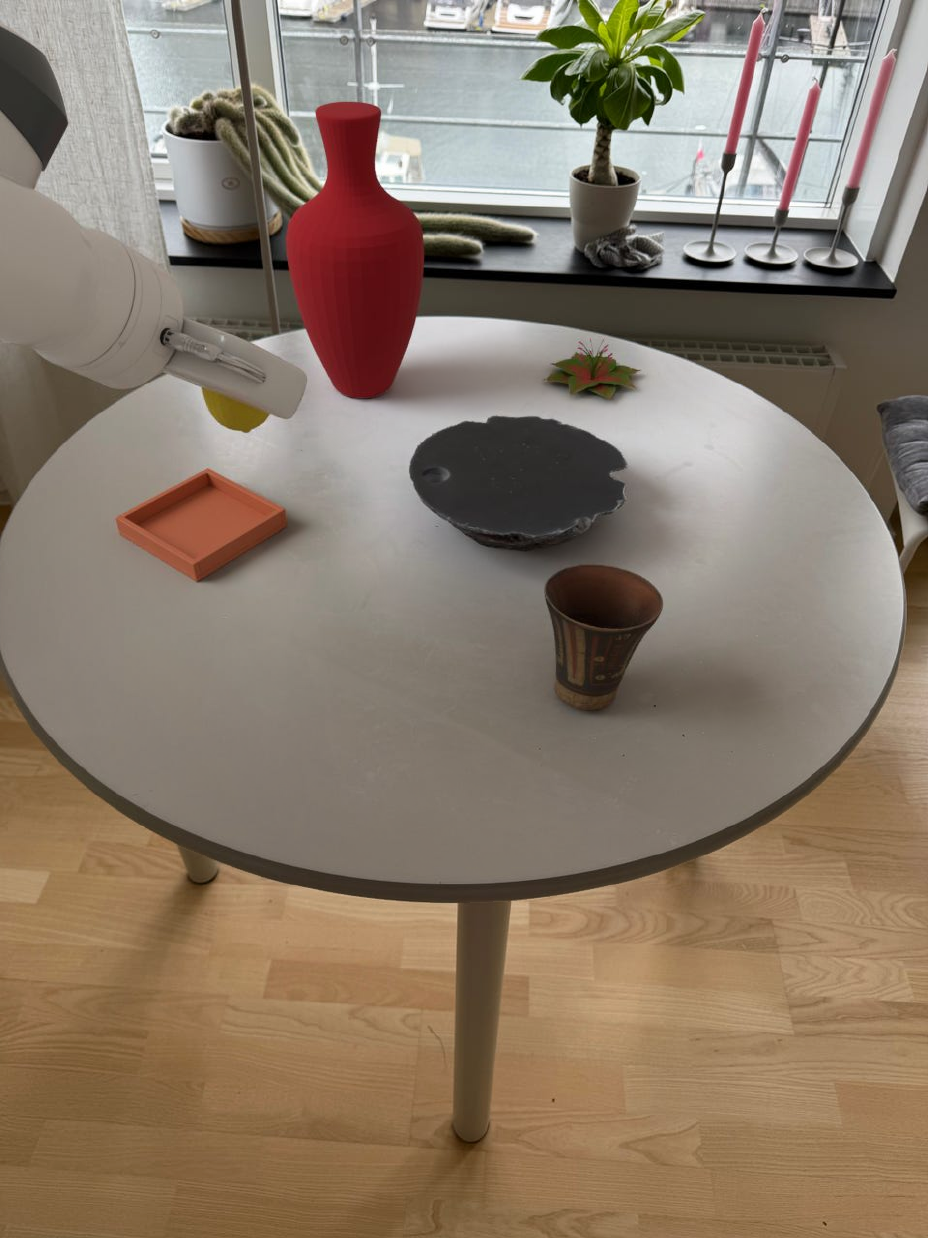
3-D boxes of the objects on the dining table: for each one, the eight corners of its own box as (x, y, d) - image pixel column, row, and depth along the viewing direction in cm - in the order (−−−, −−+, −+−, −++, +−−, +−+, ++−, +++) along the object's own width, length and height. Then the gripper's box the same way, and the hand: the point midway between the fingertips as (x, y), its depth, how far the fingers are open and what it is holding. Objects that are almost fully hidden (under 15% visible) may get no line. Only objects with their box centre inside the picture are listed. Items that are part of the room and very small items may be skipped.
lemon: (255, 457, 76) (237, 367, 71) (198, 440, 78) (176, 351, 72) (294, 422, 80) (280, 333, 74) (239, 406, 82) (221, 319, 76)
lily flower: (615, 414, 111) (620, 378, 108) (524, 386, 115) (526, 350, 112) (657, 374, 118) (663, 338, 115) (570, 349, 123) (573, 314, 120)
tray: (196, 582, 87) (193, 564, 85) (119, 534, 92) (114, 517, 90) (287, 525, 93) (285, 508, 92) (210, 484, 98) (207, 467, 97)
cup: (643, 651, 81) (661, 556, 74) (647, 730, 74) (668, 633, 68) (537, 642, 82) (547, 547, 75) (532, 720, 75) (542, 623, 68)
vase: (372, 346, 122) (360, 82, 103) (451, 388, 115) (454, 111, 95) (275, 383, 115) (242, 105, 95) (352, 431, 107) (334, 138, 87)
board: (365, 539, 92) (362, 494, 89) (462, 433, 107) (463, 391, 104) (583, 605, 85) (589, 559, 82) (654, 482, 100) (661, 439, 97)
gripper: (249, 311, 59) (360, 380, 72) (30, 236, 67) (165, 311, 80) (212, 407, 60) (329, 460, 72) (-1, 322, 68) (138, 382, 80)
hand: (241, 381), depth 76 cm, fingers closed on lemon, 5 cm apart
